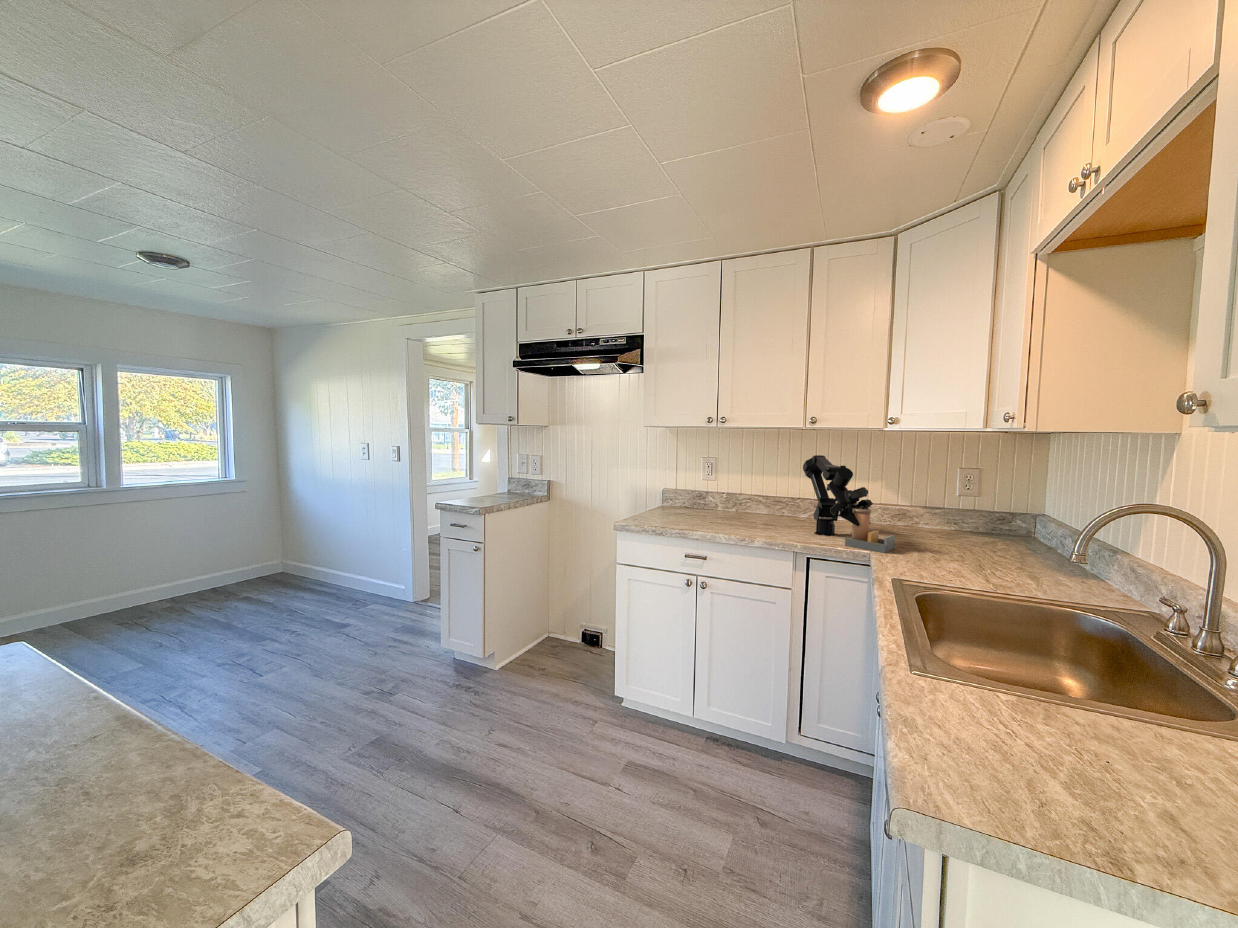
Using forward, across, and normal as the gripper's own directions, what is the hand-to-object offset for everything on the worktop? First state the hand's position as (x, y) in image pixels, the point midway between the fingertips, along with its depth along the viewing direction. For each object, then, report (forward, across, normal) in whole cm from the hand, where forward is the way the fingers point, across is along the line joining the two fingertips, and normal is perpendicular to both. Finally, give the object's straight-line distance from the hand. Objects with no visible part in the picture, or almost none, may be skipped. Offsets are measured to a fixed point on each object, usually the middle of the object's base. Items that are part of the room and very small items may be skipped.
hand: (864, 524), depth 189 cm
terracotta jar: (+4, 0, +6) cm, 7 cm away
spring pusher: (+8, +1, +3) cm, 8 cm away
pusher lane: (+8, +1, +4) cm, 9 cm away
